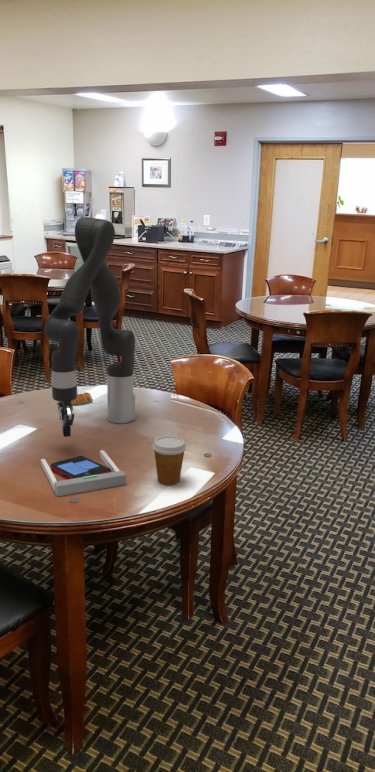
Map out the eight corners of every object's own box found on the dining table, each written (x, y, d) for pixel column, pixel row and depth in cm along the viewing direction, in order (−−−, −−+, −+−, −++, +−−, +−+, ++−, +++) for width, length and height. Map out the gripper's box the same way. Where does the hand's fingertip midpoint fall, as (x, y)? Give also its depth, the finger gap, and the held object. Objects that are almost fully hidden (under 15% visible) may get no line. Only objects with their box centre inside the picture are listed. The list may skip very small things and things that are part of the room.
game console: (112, 473, 176) (112, 466, 175) (77, 486, 167) (76, 479, 166) (82, 458, 185) (82, 451, 184) (47, 470, 176) (47, 463, 175)
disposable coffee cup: (151, 473, 175) (152, 435, 172) (183, 473, 176) (185, 435, 172) (152, 488, 166) (153, 448, 163) (186, 487, 167) (187, 448, 163)
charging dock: (103, 455, 186) (103, 445, 185) (125, 484, 168) (125, 473, 167) (41, 465, 178) (40, 455, 177) (57, 496, 160) (56, 485, 159)
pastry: (74, 408, 228) (74, 398, 227) (64, 404, 232) (64, 394, 231) (94, 403, 234) (94, 393, 233) (83, 399, 239) (83, 390, 238)
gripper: (81, 388, 177) (83, 442, 183) (71, 376, 189) (73, 426, 194) (56, 391, 174) (59, 445, 180) (47, 378, 186) (50, 429, 191)
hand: (66, 435), depth 187 cm, fingers closed
